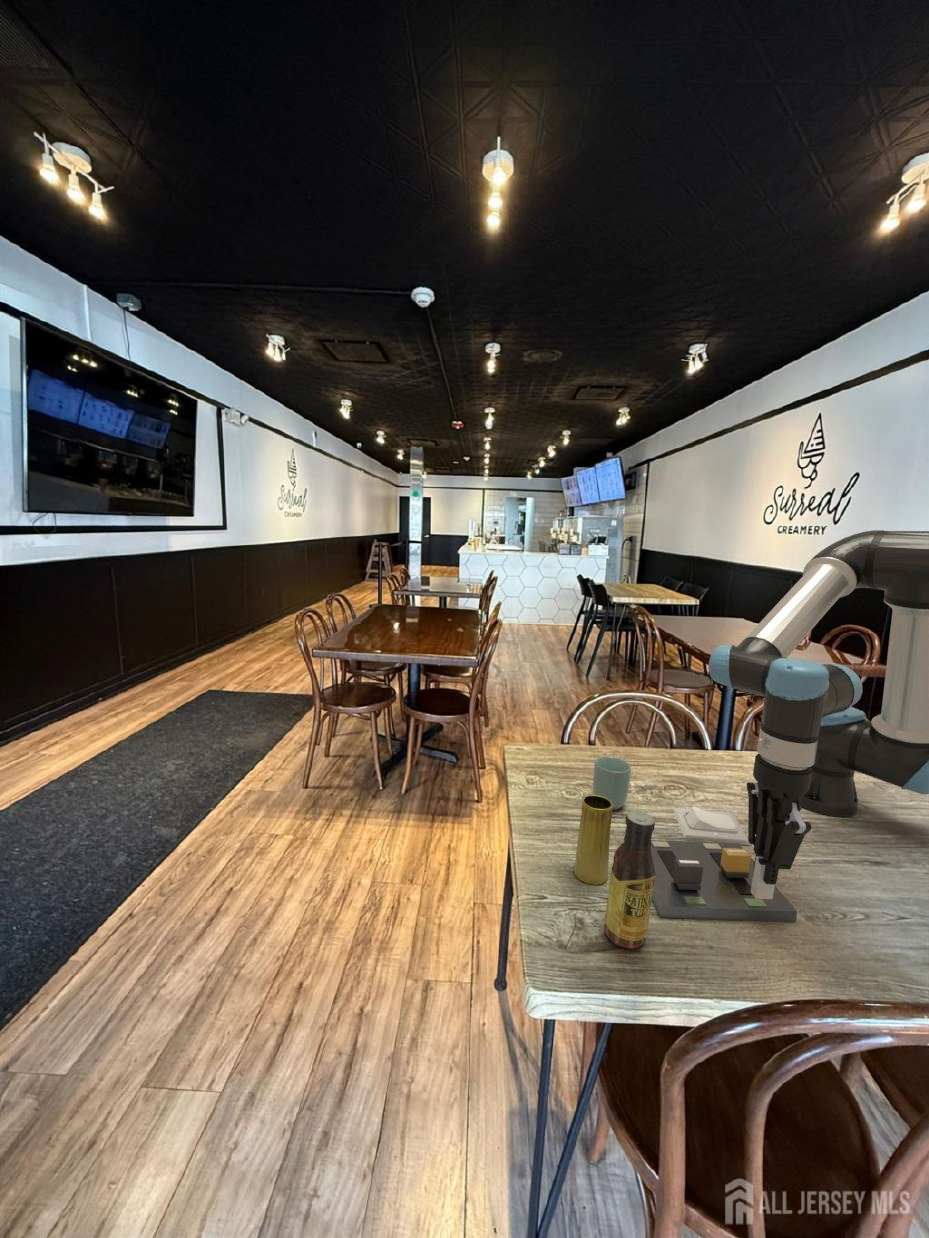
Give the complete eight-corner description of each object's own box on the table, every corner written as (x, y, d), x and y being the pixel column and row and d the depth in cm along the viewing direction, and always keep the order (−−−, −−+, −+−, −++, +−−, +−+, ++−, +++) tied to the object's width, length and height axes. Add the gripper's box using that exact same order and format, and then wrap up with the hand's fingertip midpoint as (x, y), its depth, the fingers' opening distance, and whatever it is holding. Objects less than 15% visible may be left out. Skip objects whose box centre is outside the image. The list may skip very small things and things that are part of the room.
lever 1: (693, 878, 89) (696, 856, 88) (701, 890, 86) (704, 867, 85) (671, 877, 89) (673, 855, 88) (678, 889, 86) (681, 867, 85)
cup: (614, 818, 111) (618, 775, 109) (584, 803, 116) (588, 762, 115) (633, 806, 116) (637, 765, 114) (603, 792, 122) (607, 753, 120)
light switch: (673, 797, 115) (734, 802, 113) (672, 814, 116) (733, 819, 113) (684, 824, 105) (751, 830, 102) (682, 842, 105) (750, 848, 103)
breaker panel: (737, 852, 100) (738, 842, 100) (795, 922, 83) (797, 910, 82) (626, 848, 100) (627, 838, 100) (660, 917, 83) (662, 905, 82)
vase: (614, 883, 90) (621, 809, 88) (582, 887, 89) (589, 812, 86) (598, 861, 96) (605, 791, 93) (568, 864, 95) (574, 794, 92)
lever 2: (740, 867, 92) (743, 846, 91) (749, 878, 89) (752, 856, 88) (718, 866, 92) (721, 845, 91) (726, 877, 89) (730, 855, 88)
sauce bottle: (622, 957, 75) (635, 834, 71) (595, 926, 80) (606, 811, 77) (656, 944, 77) (671, 825, 74) (628, 915, 83) (640, 803, 79)
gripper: (737, 741, 84) (718, 868, 89) (785, 779, 72) (761, 925, 76) (782, 742, 85) (761, 869, 89) (838, 781, 72) (811, 927, 76)
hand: (761, 895), depth 82 cm, fingers closed
